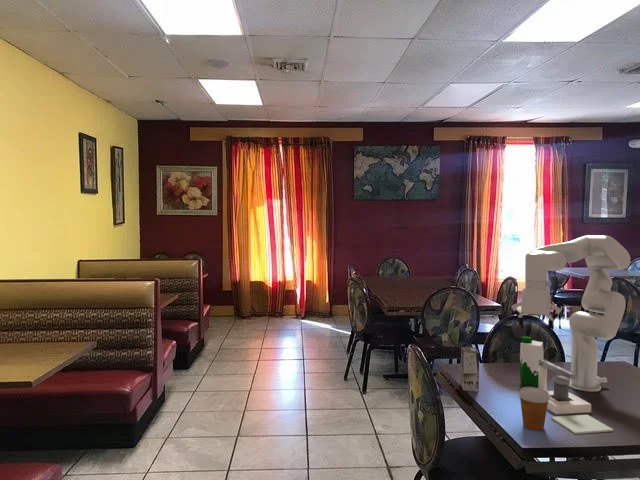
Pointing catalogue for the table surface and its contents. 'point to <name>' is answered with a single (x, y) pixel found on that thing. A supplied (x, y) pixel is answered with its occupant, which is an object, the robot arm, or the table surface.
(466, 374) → the coffee box
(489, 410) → the table surface
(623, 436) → the table surface
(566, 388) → the plug
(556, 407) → the socket base
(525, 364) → the milk carton
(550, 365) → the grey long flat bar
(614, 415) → the table surface
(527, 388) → the disposable coffee cup
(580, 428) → the rubber mat
